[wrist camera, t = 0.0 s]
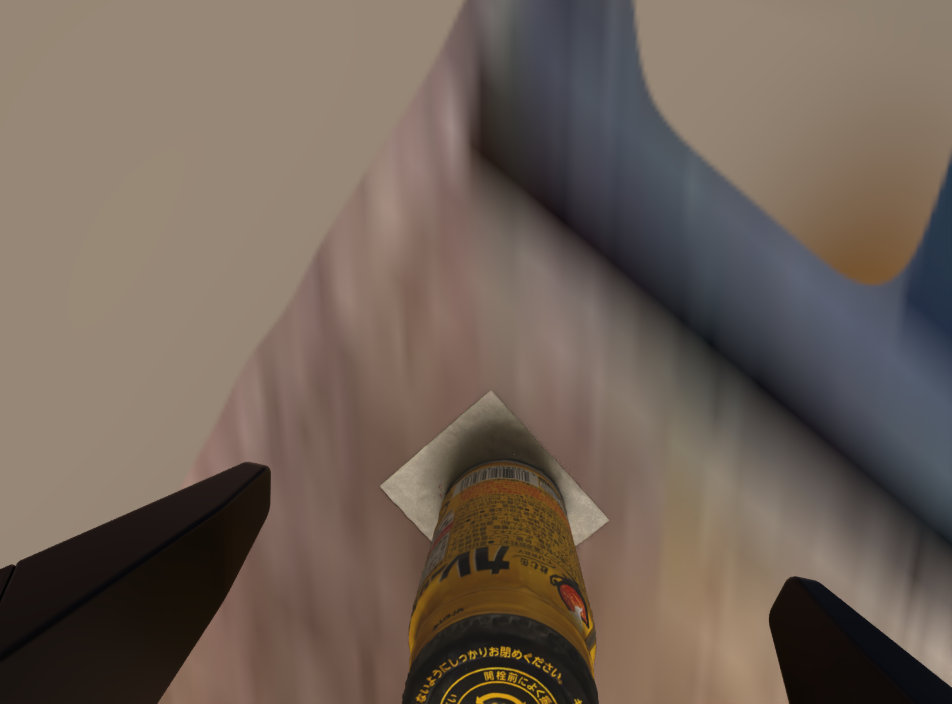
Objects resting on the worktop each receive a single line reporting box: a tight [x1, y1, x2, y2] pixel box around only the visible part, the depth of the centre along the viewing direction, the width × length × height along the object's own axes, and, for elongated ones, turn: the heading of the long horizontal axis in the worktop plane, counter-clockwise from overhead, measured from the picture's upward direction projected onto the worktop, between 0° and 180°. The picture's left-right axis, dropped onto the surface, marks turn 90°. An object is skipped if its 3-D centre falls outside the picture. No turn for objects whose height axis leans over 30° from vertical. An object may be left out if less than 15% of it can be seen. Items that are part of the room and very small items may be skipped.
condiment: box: [380, 391, 609, 704], centre depth 19 cm, size 7×8×12 cm
